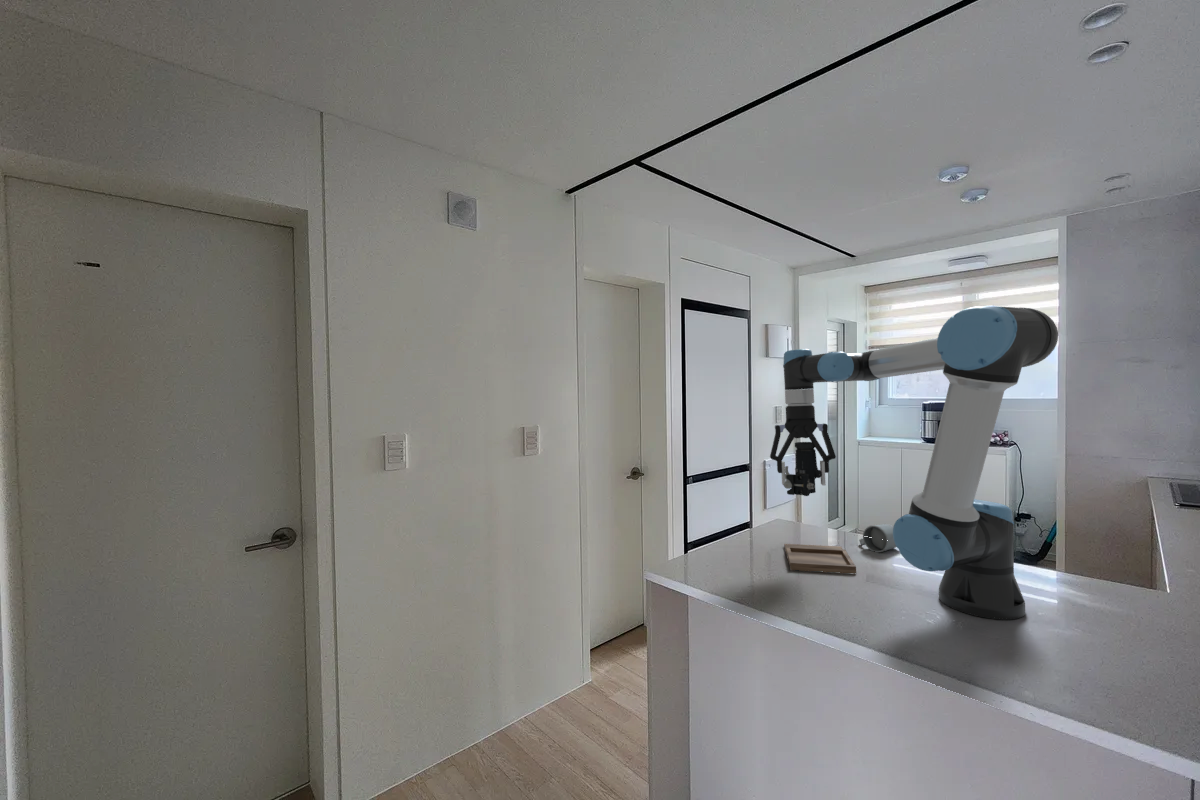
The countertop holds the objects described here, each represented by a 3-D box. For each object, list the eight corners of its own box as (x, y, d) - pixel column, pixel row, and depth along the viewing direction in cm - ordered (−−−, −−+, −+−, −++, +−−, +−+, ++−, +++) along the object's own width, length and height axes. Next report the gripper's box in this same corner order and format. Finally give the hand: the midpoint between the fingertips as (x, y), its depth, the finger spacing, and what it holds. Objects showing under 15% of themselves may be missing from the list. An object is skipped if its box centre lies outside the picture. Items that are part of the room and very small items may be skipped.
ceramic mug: (904, 550, 146) (902, 524, 146) (887, 555, 142) (886, 528, 142) (869, 541, 155) (868, 517, 155) (853, 546, 151) (852, 521, 151)
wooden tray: (856, 574, 129) (856, 566, 129) (790, 570, 133) (790, 562, 133) (841, 549, 148) (841, 543, 148) (784, 546, 152) (784, 540, 152)
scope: (781, 444, 138) (796, 441, 145) (783, 494, 138) (798, 488, 145) (810, 445, 132) (824, 441, 139) (813, 496, 132) (827, 490, 139)
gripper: (840, 403, 139) (843, 482, 139) (757, 406, 145) (761, 482, 145) (846, 403, 132) (849, 486, 132) (758, 406, 138) (762, 486, 138)
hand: (803, 484), depth 139 cm, fingers closed on scope, 10 cm apart
